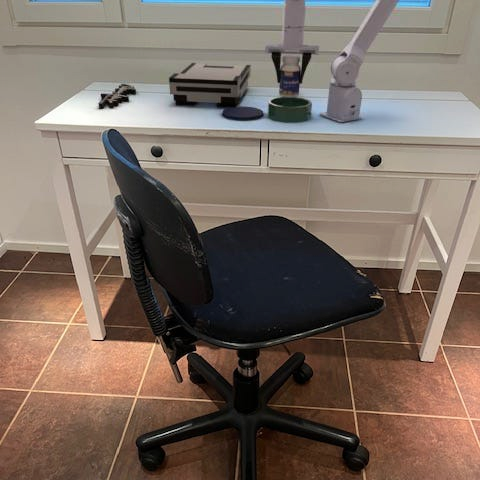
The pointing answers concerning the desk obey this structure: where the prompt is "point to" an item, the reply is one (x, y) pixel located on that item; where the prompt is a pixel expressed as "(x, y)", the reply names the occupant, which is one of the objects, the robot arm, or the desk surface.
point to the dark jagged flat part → (117, 96)
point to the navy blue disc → (242, 113)
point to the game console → (210, 84)
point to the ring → (289, 109)
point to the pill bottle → (290, 76)
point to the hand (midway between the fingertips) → (289, 82)
